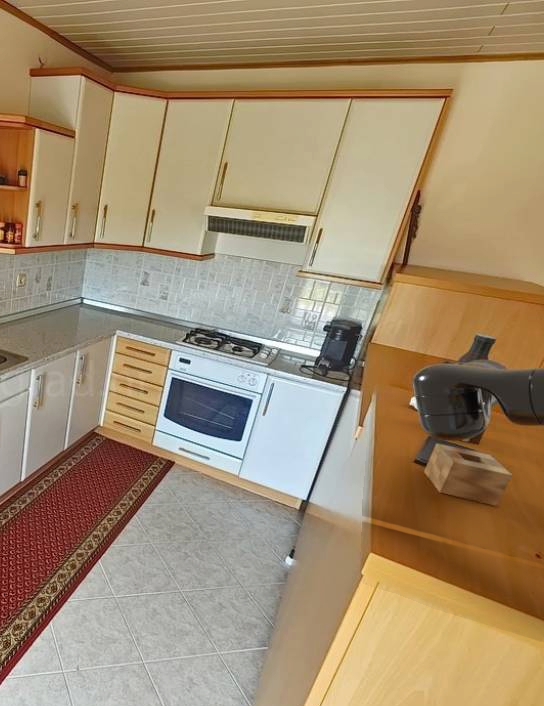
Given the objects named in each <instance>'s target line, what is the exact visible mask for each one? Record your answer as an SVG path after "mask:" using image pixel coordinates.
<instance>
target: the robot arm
mask: <svg viewBox="0 0 544 706" xmlns="http://www.w3.org/2000/svg"><path fill="white" fill-rule="evenodd" d="M501 364H502V363H500V362H498V361H494V360H490V359H488V360H473V361H470V362H467V363H465V362H458V361H451V360H450V361H449V360H443V361H442V363H436V364H431V365H427V366H425V367H423V368H421V369H420V370H418V371H417V372H416V373H415V375H414V376H413V378H412V388H413V393H414V397H415V399H416V404H417V409H418V410H417V409H416V410H417V413H418V421H419V425H420V427H421V428H422V430H423V431H424V432H425V433H426V434H427V435H428V436H432V437H434V438H437V439H441V440H445V441H448V442H456V441H460V440H464V439H468V438H471V437H474V436H476V435H478V434H480V433H481V432H482V431H484V430H485V429H487V427H488V426H489V424H490V422H491V416H492V408H493V407H496V406H497V405H499V407H500V408H501V410H502V412H503V414H504V416H505V417H506V419H508V421H510V422H511V423H513V424H514V425H517V426H526V427H544V367H538V368H524V369H523V368H522V369H521V368H520V369H509V368H507V367H506V366H505V367H504V366H503V365H501ZM485 431H486V430H485Z"/></svg>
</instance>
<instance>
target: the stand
mask: <svg viewBox="0 0 544 706" xmlns="http://www.w3.org/2000/svg"><path fill="white" fill-rule="evenodd" d="M484 453H485V452H484ZM484 453H479V452H474V451H470V450H465V449H460V448H456V447H451V446H447V445H442V444H437V443H436V445H435V448H434V450H433V452H432V455H431V457H430V459H429V462H428V464H427V466H425V469H424V471H423V472H424V474H425V475H426V477H427V478H428V479H429V480H430V482H431V483H432V484H433V486H434V487H435V488H436V489H437V491H438V492H439V493H440V494H445V495H448V496H451V497H457V498H461V499H465V500H468V501H473V500H474V501H473V502H477V501H478V503H482V504H486V505H489V506H493V507H497V506H498V505H499V503H500V500H501V499H502V497H503V495H504V493H505V491H506V489H507V487H508V485H509V482H510V480H511V479H512V477H513V474H512V473H511V472H510V471H509V470H507V468H505V467H504V466H503V465H502V464H501V463H500V462H499V461H498V460H496V458H495V457H494V458H493V457H492V456H491V455H492V454H490V455H488V454H489V453H487V454H484Z"/></svg>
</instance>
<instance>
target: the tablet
mask: <svg viewBox="0 0 544 706" xmlns="http://www.w3.org/2000/svg"><path fill="white" fill-rule="evenodd" d="M436 443H437V444H442V445H447V446H451V447H456V448H460V449H465V450H470V451H474V452H479V453H484V454H488V455H491V456H492V457H493V458H494V459H495V455H493V454H489V453H487V452H484V451H480V450H477V449H474V448H471V447H468V446H464V445H460V444H457V443H455V442H452V441H446V440H441V439H437V438H434V437H432V436H430V435H428V436H427V437H426V439H425V441H424V443H423V444H422V446H421V448H420V449H419V451H418V453H417V454H416V457H415V458H414V460H413V463H415V464H418V465H421V466H424V467H426V466H427V464H428V462H429V459H430V457H431V455H432V452H433V450H434V448H435V445H436Z"/></svg>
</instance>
